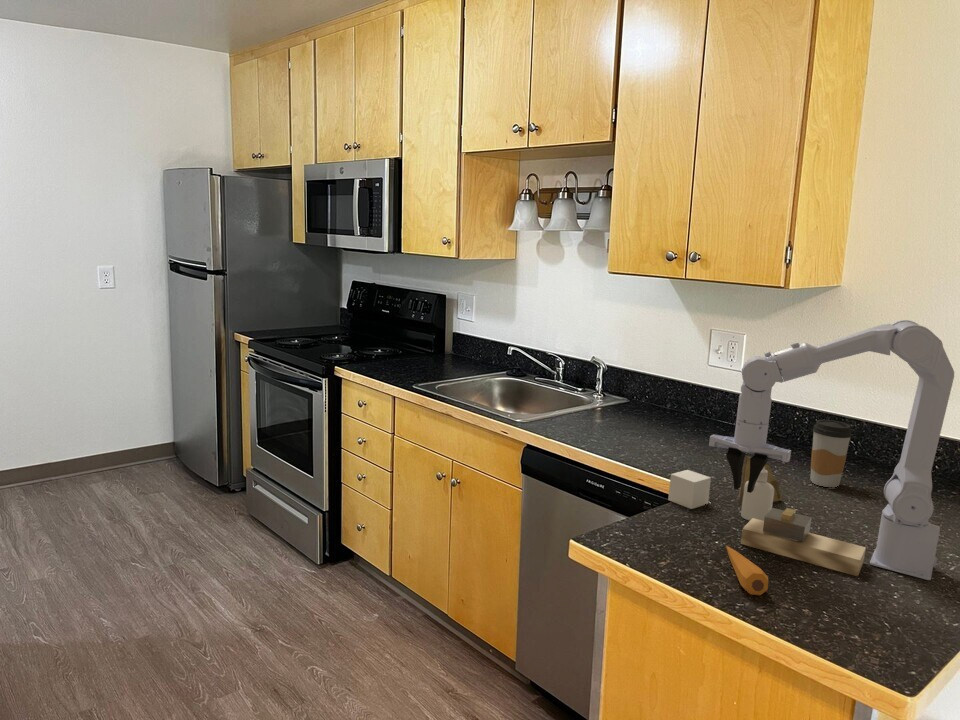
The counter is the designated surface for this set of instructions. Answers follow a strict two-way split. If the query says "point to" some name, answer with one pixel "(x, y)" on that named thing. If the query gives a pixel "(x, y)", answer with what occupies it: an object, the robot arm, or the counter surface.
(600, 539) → the counter surface
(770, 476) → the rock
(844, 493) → the counter surface
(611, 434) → the counter surface
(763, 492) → the eye dropper bottle
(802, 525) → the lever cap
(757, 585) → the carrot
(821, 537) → the body
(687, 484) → the white cube
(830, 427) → the coffee cup
